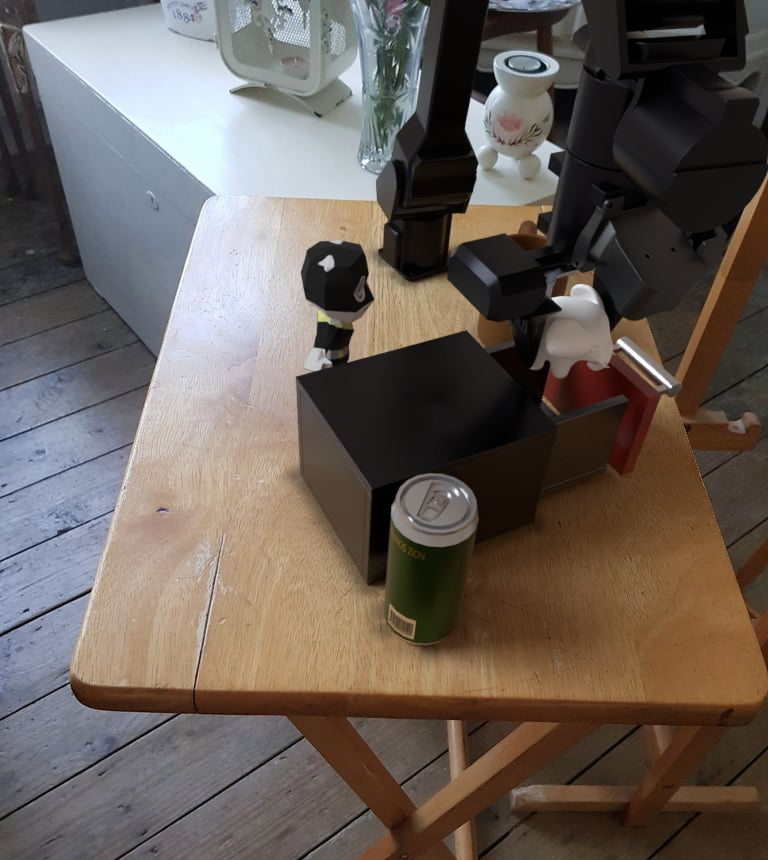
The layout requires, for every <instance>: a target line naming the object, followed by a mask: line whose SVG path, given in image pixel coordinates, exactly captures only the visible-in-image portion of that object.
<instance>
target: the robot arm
mask: <svg viewBox="0 0 768 860" xmlns="http://www.w3.org/2000/svg"><path fill="white" fill-rule="evenodd" d="M580 2H581V5H582V10H583V13H584V16H585V20H586V23H585V24H583V25H582V26H580V27H579V28H578V29H576V30H575V31H574V33H572V37H571V41H572V44H573V46H575V47H576V48H577V49H578V50H579V51H580V52H582V53H583V54H584V58H583V62H582V66H581V70H580V71H581V72H580V76H579V82H578V85H577V91H576V95H575V99H574V105H573V109H572V114H571V118H570V124H569V128H568V133H567V137H566V141H565V147H564V150H560V151H555V152H551V153H550V155H549V160H548V164H547V169H548V170H549V171H550V172H551V173H553V174H554V175H555V176H557V178H558V179H557V184H556V189H555V195H554V200H553V203H552V208H551V210H549V211H545V212H539V213H538V215H537V218H536V219H537V220H536V223H535V224H536V228H537V231H539V232H540V233H542V234H543V236H545V237H547V239H546V244H545V245H544V247H542V248H538V249H534V250H530V251H525V250H523V249H522V248H521V247H520V246H519V245H518V244H517V243H516V242H514V241H513V240H512V239H511V238H510V237H509V236H508V235H509V234H507V233H506V232H504V233H500V234H495V235H491V236H486V237H483V238H477V239H474V240H469V241H465V242H461V243H459V244H458V245H457V246H455V247H454V248H453V249H452V251H451V253H450V255H449V249H450V240H451V231H452V225H453V224H452V222H453V215H456V214H460V215H464V214H466V213H467V210H468V207H469V205H470V201H471V198H472V195H473V193H474V190H475V189H474V188H475V186H476V182H477V181H478V177H477V176H478V175H477V174H478V166H479V164H480V163H479V160H478V158H477V155H476V152H475V150H474V147H473V145H472V143H471V140H470V138H469V135H468V133H467V131H466V124H467V120H468V114H469V111H470V110H469V109H470V104H471V99H472V93H473V88H474V84H475V78H476V74H477V68H478V62H479V58H480V53H481V50H482V49H481V47H482V43H483V37H484V33H485V27H486V24H487V23H486V22H487V18H488V12H489V8H490V4H491V0H430V5H429V11H428V12H429V13H428V19H427V25H426V26H427V27H426V34H425V41H424V47H423V48H424V49H423V55H422V62H421V67H420V68H421V69H420V75H419V76H420V77H419V84H418V90H417V98H416V103H415V104H416V106H415V110H414V112H413V113H412V114H411V116H410V117H409V118H408V119H407V120H406V122H404V124H403V125H402V126H401V128H400V129H399V130H398V132H397V133H396V134H395V136H394V141H393V145H392V151H391V156H390V160H388V161H387V162H386V164H385V165H384V167H383V168H382V170H381V171H380V173H379V174H378V176H377V177H376V180H375V192H376V193H375V194H376V202H377V204H378V206H379V207H380V209H381V211H382V213H383V214H384V216H385V217H386V219H387V221H386V222H385V223H384V225H383V235H382V236H383V238H382V247H381V248H378V249H377V255H378V257H380V258H381V259H382V260H383V261H385V262H386V263H387V264H388V266H390V267H391V268H392V269H394V271H396V272H397V274H399V275H400V276H401V277H402V278H403V279H404V280H406V281H414V280H418V279H421V278H424V277H427V276H431V275H434V274H437V273H440V272H443V271H447V270H448V271H447V281H448V282H449V283H450V284H451V285H452V286H453V287H454V288H455V289H456V290H457V291H458V292H459V293H460V295H462V296H463V297H464V298H465V299H466V300H467V301H468V302H469V303H470V304H471V305H472V307H474V309H475V310H477V311H478V313H479V314H480V313H481V314H482V315H483V316H484V317H485V319H486V320H490V321H494V322H502V321H506V320H508V322H509V325H510V329H511V332H512V335H513V339H514V342H515V346H516V349H517V352H518V356H519V359H520V362H521V363H522V364H523V365H524V366H525V367H526V368H527V369H529V368H532V366H533V364H534V362H535V359H536V357H537V354H538V350H539V347H540V343H541V339H542V335H543V331H544V328H545V324H546V320H547V318H548V317H549V316H551V315H554V314H556V313H558V312H560V311H562V308H561V307H560V306H559V305H558V304H556V303H555V302H554V301H553V300H552V299H551V298H550V297H551V293H552V288H553V286H554V285H555V281H556V279H557V278H561V277H565V276H572V275H577V274H580V273H581V274H585V273H589V272H593V276H592V286H591V287H592V288H594V289H595V290H596V292H597V293H598V294H599V296H600V298H601V300H602V302H603V305H604V309H605V313H606V315H607V317H608V320H609V327H610V334H611V333H612V332H613V330H614V329H615V328H616V327H617V326H618V324H619V323H620V322H621V320H622V319H623V318H624V319H625V320H627V321H631V322H638V321H643V320H644V319H646V318H647V317H649V316H653V315H657V314H661V313H664V312H672V311H675V310H676V309H678V307H680V305H681V304H682V303H683V301H684V300H685V299H687V297H688V296H689V294H691V292H692V291H693V290H696V289H700V288H703V287H707V286H709V285H711V284H713V281H714V274H713V272H714V271H715V270H716V269H717V268H718V267H719V265H720V264H721V261H722V257H723V253H724V251H725V247H726V243H727V241H728V234H727V233H726V231H725V230H724V229H723V228H722V226H723V225H724V224H726V223H728V222H730V221H731V220H732V219H734V218H735V217H737V216H738V215H739V214H740V213H741V212H742V211H743V210H744V209H745V208H746V207H747V206H748V205H749V204H750V203H751V202H752V200H754V197H755V196H756V195H757V194H758V192H759V191H760V189H761V187H762V185H763V183H764V181H765V179H766V177H767V175H768V139H767V138H766V136H765V134H764V132H763V131H762V129H760V128H758V127H757V125H755V124H754V121H755V118H756V116H757V112H758V111H759V107H760V104H761V101H760V100H761V99H760V97H759V96H758V95H756V94H755V93H754V92H752V91H750V90H748V89H747V88H745V87H740V86H737V85H735V84H733V83H731V82H730V81H729V80H727V79H726V78H724V77H723V76H721V75H720V74H721V73H722V74H723V73H733V72H735V73H736V72H742V71H744V69H745V67H746V64H747V46H746V45H747V44H746V43H747V42H746V41H747V40H746V36H748V35H749V34H750V28H749V27H750V26H749V21H748V17H747V10H746V5H745V0H580ZM700 26H703V29H704V33H703V34H687V35H673V36H672V35H671V36H670V35H669V36H655V37H650V35H648V34H647V33H646V32H651V31H652V32H653V31H667V30H685V29H697V28H699V27H700Z"/></svg>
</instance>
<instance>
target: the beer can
mask: <svg viewBox="0 0 768 860" xmlns="http://www.w3.org/2000/svg"><path fill="white" fill-rule="evenodd" d="M478 521H479V519H478V510H477V502H476V498H475V496H474V494H473V492H472V490H471V489H470V488H469V487H468V486H467V485H466V484H465V483H463V482H462V481H460V480H458V479H456V478H454V477H451V476H448V475H444V474H434V473H428V474H423V475H418V476H415V477H413V478H411V479H409V480H407V481H406V482H405V483H404V484H403V485H402V486H401V487H400V489H399V491H398V493H397V495H396V498H395V500H394V502H393V504H392V507H391V520H390V533H389V546H388V559H387V573H386V578H385V587H384V599H383V601H384V602H383V616H384V619H385V622H386V625H387V626H388V627H389V629H390V630H391V631H392V632H393V634H394V635H395V636H396V637H397V638H399V639H400V640H402V641H403V642H405V643H408V644H411V645H414V646H420V647H421V646H422V647H423V646H424V647H427V646H432V645H436V644H438V643H440V642H441V641H443V640H445V639H446V638H448V637H449V636H450V635H451V634H452V633H453V632H454V631H455V629H457V626H458V625H459V624H458V623H459V621H460V617H461V613H462V607H463V602H464V597H465V592H466V587H467V583H468V577H469V572H470V567H471V561H472V556H473V551H474V546H475V545H474V542H475V537H476V531H477V526H478Z"/></svg>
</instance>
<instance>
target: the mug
mask: <svg viewBox="0 0 768 860" xmlns="http://www.w3.org/2000/svg"><path fill="white" fill-rule="evenodd" d="M536 224H537V223H536V222H534V221H533V220H530V219H528V220H524V221H522V222H521V223H520V225H519V228H518V233H513V234H512V233H511V234H507V235H508V236H509V237H510V238H511V239H512V240H513V241H514V242H516V243H517V244H518V245H519V246H520V247H521V248H522V249H523V250H525V251H530V250H534V249H538V248H542V247H544V245H545V244H546V239H547V237H546V236H545V235H540V234H538V229H537V228H536ZM569 276H570V275H569ZM569 276H565V277H561V278H557V279H556V281H555V285H554V286H553V288H552V293H551V297H550V298H554V297H559V296H566V290H567V286H568V281H569ZM477 335H478V338H479V341H480V342H481V343H482V345H483V346H484V348H485V347H488V346H492V345H496V344H499V343H503V342H506V341H510V340H513V335H512V332H511V329H510V325H509V322H508V320H506V321H502V322H494V321H490V320H486V319H485V317H484V316H483V315H482V314H481V313H480V312H479V314H478V321H477Z"/></svg>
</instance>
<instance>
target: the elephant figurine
mask: <svg viewBox="0 0 768 860" xmlns="http://www.w3.org/2000/svg"><path fill="white" fill-rule="evenodd" d="M551 299H552V300H553V301H554V302H555V303H556V304H558V305H559V306H560V307H561V308H562V311H560V312H558V313H556V314H554V315H551V316H549V317H548V318H547V320H546V324H545V328H544V331H543V335H542V339H541V343H540V347H539V350H538V354H537V357H536V359H535V362H534V364H533V366H532V368H529V369H532V370H539V369H541V368H542V367H543V365H544V362H545V360H548V361H549V362H550V372H551V374H552V375H553V376H555V377H556V378H560V379H561V378H564V377H566V376H567V374H568V372H569V370H570V368H571V366H572V365H573V364H574V363H576V362H577V361H580V360H587V361H588V362H587V366H588V367H589V368H590V369H592V370H594V371H597V370H601V369H604V368H605V367H606V368H610V367H608V366H607V365H608V363H609V361H610V359H611V356H612V353H613V354H614V355H615V353H614V352H613V345H614V343H613V339H612V335H611V333H610V327H609V320H608V317H607V315H606V313H605V309H604V305H603V302H602V300H601V298H600V296H599V294H598V293H597V292H596V290H595V289H594V288H592V286H591V285H588V284H584V283H579V284H575V285H574V286H573V287H572V288H571V290H570V295H569V296H568V295H564V296H559V297H554V298H551ZM615 356H616V355H615Z"/></svg>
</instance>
